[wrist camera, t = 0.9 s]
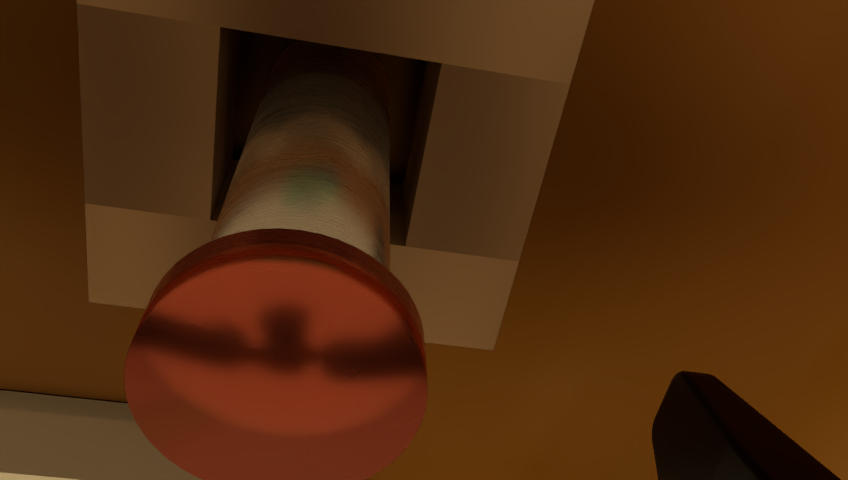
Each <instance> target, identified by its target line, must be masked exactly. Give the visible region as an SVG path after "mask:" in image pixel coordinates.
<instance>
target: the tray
mask: <svg viewBox="0 0 848 480" xmlns="http://www.w3.org/2000/svg"><path fill="white" fill-rule="evenodd" d="M0 480H202V479H199V478H197V477H195V476H194V475H192V474H190V473H188V472H186V471H185V470H183V469H181V468H180V467H178V466H177V465H176V464H174V463H173V462H171V461H170V460H169V459H167V458H166V457H165V456H164V455H163V454H162V453H161V452H159V451H158V450H157V449H156V448H155V447H154V446H153V444H152V443H151V442H150V441H149V440H148V439H147V438H146V436H145V435H144V434H143V432H142V431H141V429H140V428H139V426H138V425H137V423H136V421H135V419H134V417H133V415H132V413H131V410H130V408H129V405H128V403H118V402H109V401H99V400H90V399H80V398H70V397H61V396H51V395H42V394H32V393H23V392H13V391H4V390H0Z"/></svg>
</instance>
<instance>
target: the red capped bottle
mask: <svg viewBox="0 0 848 480" xmlns="http://www.w3.org/2000/svg"><path fill="white" fill-rule="evenodd" d="M124 385H125V394H126V398H127V401H128V405H129V408H130V410H131V413H132V415H133V417H134V419H135V421H136V423H137V425H138V426H139V428H140V429H141V431H142V432H143V434H144V435H145V436H146V438H147V439H148V440H149V441H150V442H151V443H152V444H153V446H154V447H155V448H156V449H157V450H158V451H159V452H161V453H162V454H163V455H164V456H165V457H166V458H167V459H169V460H170V461H171V462H173V463H174V464H176V465H177V466H178V467H180V468H181V469H183V470H185V471H186V472H188V473H190V474H192V475H194V476H195V477H197V478H199V479H202V480H365V479H368V478H369V477H371V476H373V475H374V474H376V473H378V472H379V471H381V470H382V469H384V468H385V467H386V466H388V465H389V464H390V463H391V462H393V461H394V460H395V459H396V458H397V457H398V456H399V455H400V454H401V453H402V452H403V451H404V450H405V449H406V447H407V446H408V445H409V443H410V442H411V441H412V439H413V438H414V436H415V434H416V432H417V430H418V429H419V427H420V425H421V422H422V419H423V416H424V413H425V409H426V402H427V373H426V356H425V340H424V331H423V326H422V321H421V318H420V315H419V313H418V310H417V307H416V305H415V303H414V302H413V300H412V298H411V296H410V294H409V293H408V291H407V290H406V289H405V287H404V286H403V285H402V283H401V282H400V281H399V279H398V278H397V277H396V276H395V275H394V274H393V273H392V272H391V271H390V101H389V83H388V78H387V75H386V72H385V70H384V68H383V66H382V64H381V63H380V61H379V59H378V58H377V57H376V56H375V55H374V53H373V52H370V51H364V50H358V49H352V48H346V47H339V46H333V45H327V44H321V43H315V42H309V41H303V40H297V41H295V42H293V43H292V44H290V45H289V46H288V47H287V48H286V49H285V50H284V51H283V52H282V53H281V54H280V55H279V57H278V58H277V60H276V61H275V63H274V65H273V68H272V70H271V73H270V76H269V79H268V81H267V84H266V87H265V90H264V93H263V95H262V98H261V101H260V104H259V106H258V109H257V112H256V115H255V118H254V120H253V123H252V126H251V129H250V132H249V134H248V137H247V140H246V143H245V146H244V148H243V151H242V154H241V157H240V160H239V162H238V165H237V168H236V171H235V173H234V176H233V179H232V182H231V185H230V187H229V190H228V193H227V196H226V199H225V201H224V204H223V207H222V210H221V213H220V215H219V218H218V221H217V224H216V227H215V229H214V232H213V235H212V238H211V240H210V242H208V243H206V244H204V245H202V246H200V247H198V248H197V249H195V250H193V251H191V252H190V253H188V254H187V255H186V256H184V257H183V258H182V259H180V260H179V261H178V262H177V263H175V264H174V265H173V266H172V268H171V269H170V270H169V271H168V272H167V273H166V274H165V275H164V276H163V278H162V279H161V281H160V282H159V283H158V285H157V286H156V288H155V290H154V292H153V294H152V296H151V298H150V300H149V303H148V305H147V307H146V310H145V312H144V314H143V317H142V319H141V321H140V324H139V326H138V328H137V331H136V333H135V335H134V338H133V340H132V342H131V345H130V347H129V350H128V354H127V357H126V361H125V369H124Z"/></svg>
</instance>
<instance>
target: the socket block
mask: <svg viewBox="0 0 848 480" xmlns="http://www.w3.org/2000/svg"><path fill="white" fill-rule="evenodd" d="M594 1H595V0H76V2H77V26H78V50H79V75H80V99H81V123H82V147H83V172H84V196H85V220H86V244H87V269H88V293H89V302H91V303H100V304H108V305H116V306H125V307H133V308H141V309H146V307H147V305H148V303H149V300H150V298H151V296H152V294H153V292H154V290H155V288H156V286H157V285H158V283H159V282H160V281H161V279H162V278H163V276H164V275H165V274H166V273H167V272H168V271H169V270H170V269H171V268H172V266H173V265H174V264H175V263H177V262H178V261H179V260H180V259H182V258H183V257H184V256H186V255H187V254H188V253H190V252H191V251H193V250H195V249H197V248H198V247H200V246H202V245H204V244H206V243H208V242H210V240H211V238H212V235H213V232H214V229H215V227H216V224H217V221H218V218H219V215H220V213H221V210H222V207H223V204H224V201H225V199H226V196H227V193H228V190H229V187H230V185H231V182H232V179H233V176H234V173H235V171H236V168H237V165H238V162H239V161H238V160H233V148H234V133H235V117H236V102H237V87H238V71H239V56H240V41H241V30H242V31H248V32H254V33H260V34H266V35H272V36H278V37H285V38H291V39H297V40H303V41H309V42H315V43H321V44H327V45H333V46H339V47H346V48H352V49H358V50H364V51H370V52H376V53H382V54H388V55H394V56H400V57H407V58H413V59H419V60H425V61H427V62H426V67H425V72H424V78H423V83H422V88H421V94H420V99H419V104H418V109H417V115H416V120H415V125H414V130H413V136H412V141H411V146H410V152H409V157H408V162H407V167H406V173H405V178H404V183H403V184H398V183H391V182H390V271H391V272H392V273H393V274H394V275H395V276H396V277H397V278H398V279H399V281H400V282H401V283H402V285H403V286H404V287H405V289H406V290H407V291H408V293H409V294H410V296H411V298H412V300H413V302H414V303H415V305H416V307H417V310H418V313H419V315H420V318H421V321H422V326H423V331H424V340H425V342H426V343H435V344H443V345H451V346H460V347H468V348H477V349H485V350H494V347H495V343H496V340H497V336H498V333H499V329H500V326H501V322H502V319H503V315H504V312H505V309H506V305H507V302H508V298H509V295H510V291H511V288H512V284H513V281H514V277H515V274H516V270H517V267H518V264H519V260H520V257H521V253H522V250H523V246H524V243H525V239H526V236H527V232H528V229H529V226H530V222H531V219H532V215H533V212H534V208H535V205H536V201H537V198H538V194H539V191H540V187H541V184H542V181H543V177H544V174H545V170H546V167H547V163H548V160H549V156H550V153H551V149H552V146H553V143H554V139H555V136H556V132H557V129H558V125H559V122H560V118H561V115H562V111H563V108H564V104H565V101H566V98H567V94H568V91H569V87H570V84H571V80H572V77H573V73H574V70H575V66H576V63H577V60H578V56H579V53H580V49H581V46H582V42H583V39H584V35H585V32H586V28H587V25H588V22H589V18H590V15H591V11H592V8H593V4H594Z"/></svg>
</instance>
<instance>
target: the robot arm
mask: <svg viewBox="0 0 848 480" xmlns="http://www.w3.org/2000/svg"><path fill="white" fill-rule="evenodd" d="M652 442H653V449H654V455H655V461H656V468H657V474H658V480H841V479H840V478H838V477H837V476H836V475H835V474H833V473H832V472H831V471H830V470H829V469H827V468H826V467H825V466H824V465H822V464H821V463H820V462H819V461H818V460H816V459H815V458H814V457H813V456H811V455H810V454H809V453H808V452H807V451H805V450H804V449H803V448H802V447H800V446H799V445H798V444H797V443H796V442H794V441H793V440H792V439H791V438H789V437H788V436H787V435H786V434H785V433H783V432H782V431H781V430H780V429H778V428H777V427H776V426H775V425H774V424H772V423H771V422H770V421H769V420H767V419H766V418H765V417H764V416H763V415H761V414H760V413H759V412H758V411H756V410H755V409H754V408H753V407H752V406H750V405H749V404H748V403H747V402H745V401H744V400H743V399H742V398H741V397H739V396H738V395H737V394H736V393H735V392H733V391H732V390H731V389H730V388H728V387H727V386H726V385H725V384H724V383H722V382H721V381H720V380H719V379H717V378H716V377H715V376H713V375H710V374H705V373H697V372H689V371H682V372H679V373H677V374H676V375H675V376H674V377H673V379H672V381H671V383H670V385H669V387H668V390H667V392H666V394H665V396H664V399H663V401H662V403H661V405H660V408H659V410H658V412H657V414H656V417H655V419H654V422H653V427H652Z"/></svg>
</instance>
